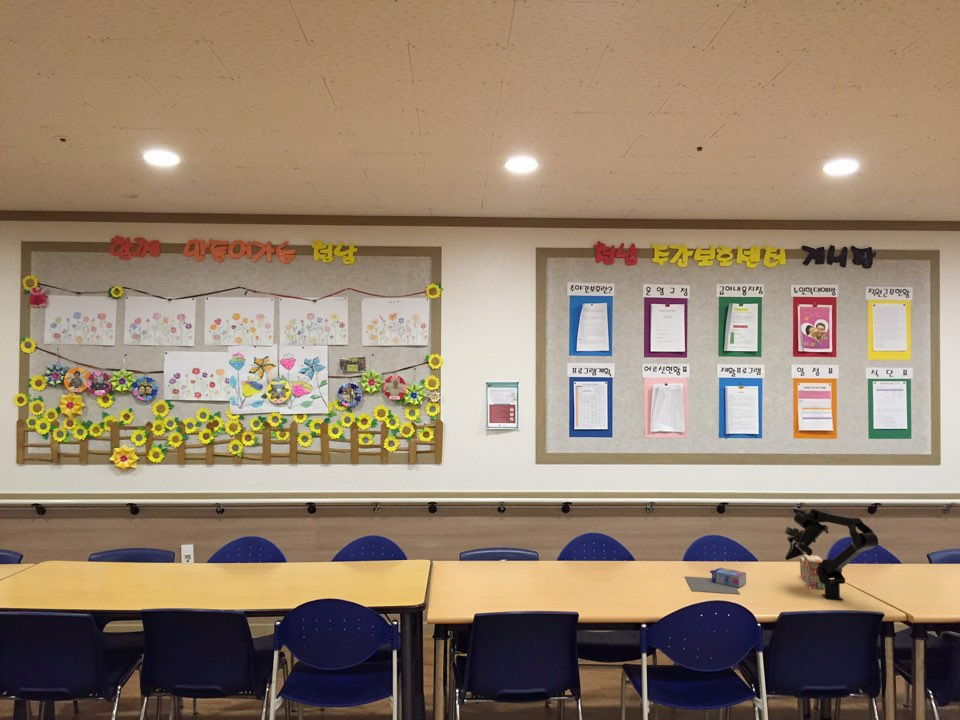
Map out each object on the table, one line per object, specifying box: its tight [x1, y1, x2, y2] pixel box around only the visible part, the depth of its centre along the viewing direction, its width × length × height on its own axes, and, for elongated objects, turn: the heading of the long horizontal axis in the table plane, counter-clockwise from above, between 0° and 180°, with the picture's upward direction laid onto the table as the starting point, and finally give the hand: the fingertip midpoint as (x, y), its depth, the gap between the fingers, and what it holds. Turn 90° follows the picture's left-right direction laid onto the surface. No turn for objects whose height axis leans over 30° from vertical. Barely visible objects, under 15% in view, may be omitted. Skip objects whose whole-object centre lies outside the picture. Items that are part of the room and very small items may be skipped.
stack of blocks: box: [799, 554, 825, 590], centre depth 308 cm, size 21×6×12 cm, turn 165°
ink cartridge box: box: [709, 567, 747, 589], centre depth 304 cm, size 10×6×14 cm
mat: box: [684, 575, 741, 595], centre depth 300 cm, size 24×20×1 cm
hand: (785, 559), depth 295 cm, fingers closed
